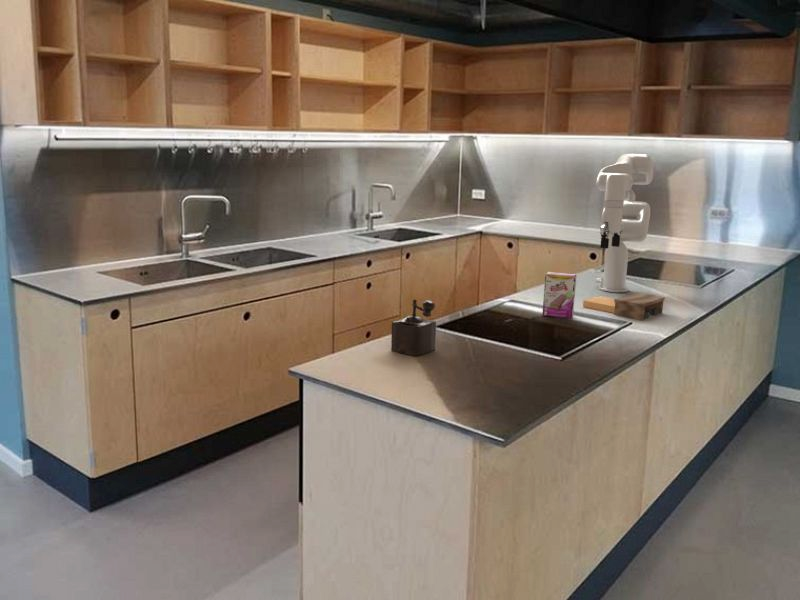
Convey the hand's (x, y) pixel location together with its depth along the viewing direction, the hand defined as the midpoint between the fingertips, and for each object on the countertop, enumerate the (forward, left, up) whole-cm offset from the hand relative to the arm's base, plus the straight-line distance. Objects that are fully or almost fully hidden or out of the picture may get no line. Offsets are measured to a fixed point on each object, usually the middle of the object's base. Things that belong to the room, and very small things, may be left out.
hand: (609, 247), depth 292 cm
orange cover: (+5, -9, -23) cm, 25 cm away
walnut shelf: (+18, -9, -23) cm, 31 cm away
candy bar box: (0, -36, -23) cm, 43 cm away
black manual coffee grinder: (-4, -108, -23) cm, 110 cm away
